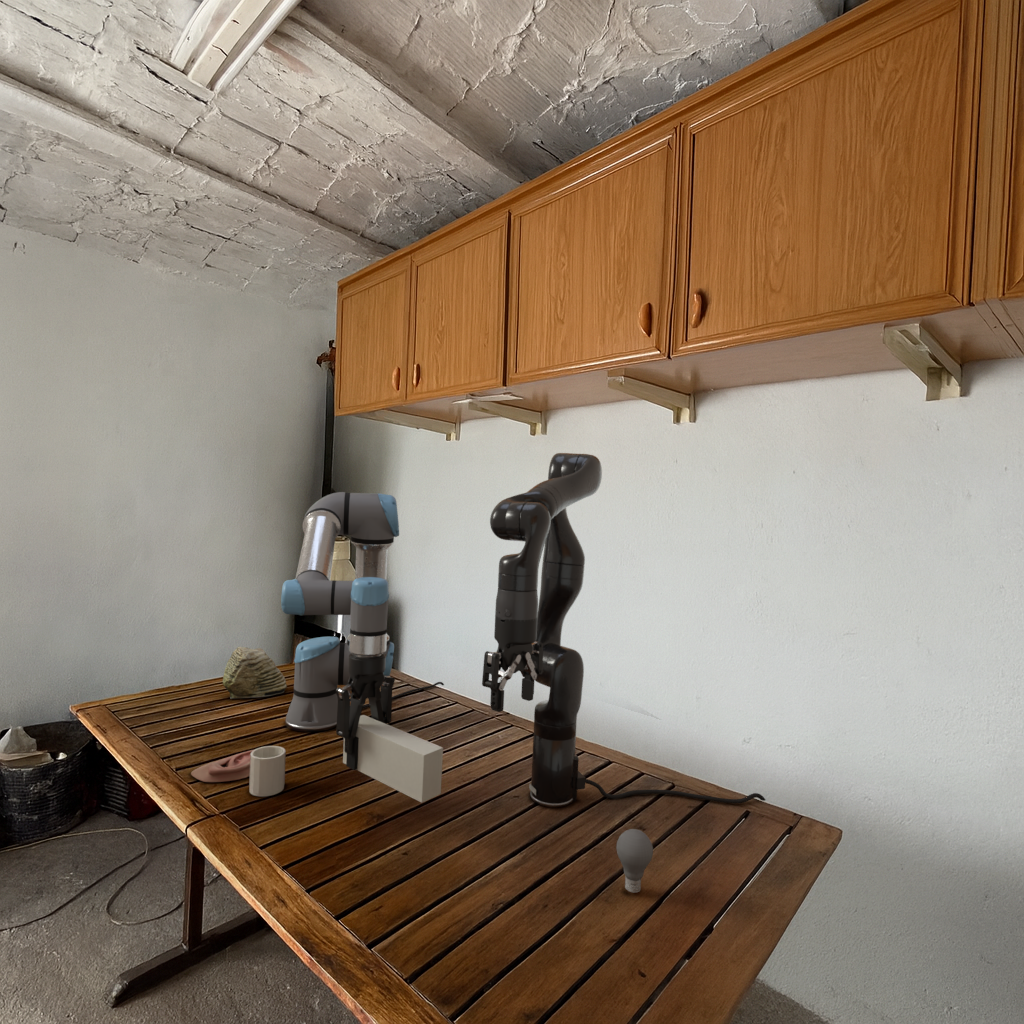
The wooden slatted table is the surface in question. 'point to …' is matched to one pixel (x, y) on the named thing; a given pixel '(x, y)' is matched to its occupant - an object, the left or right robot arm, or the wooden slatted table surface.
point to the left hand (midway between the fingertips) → (363, 763)
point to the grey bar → (398, 759)
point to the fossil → (252, 674)
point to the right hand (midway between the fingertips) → (512, 705)
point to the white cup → (267, 770)
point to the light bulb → (634, 857)
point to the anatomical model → (225, 769)
